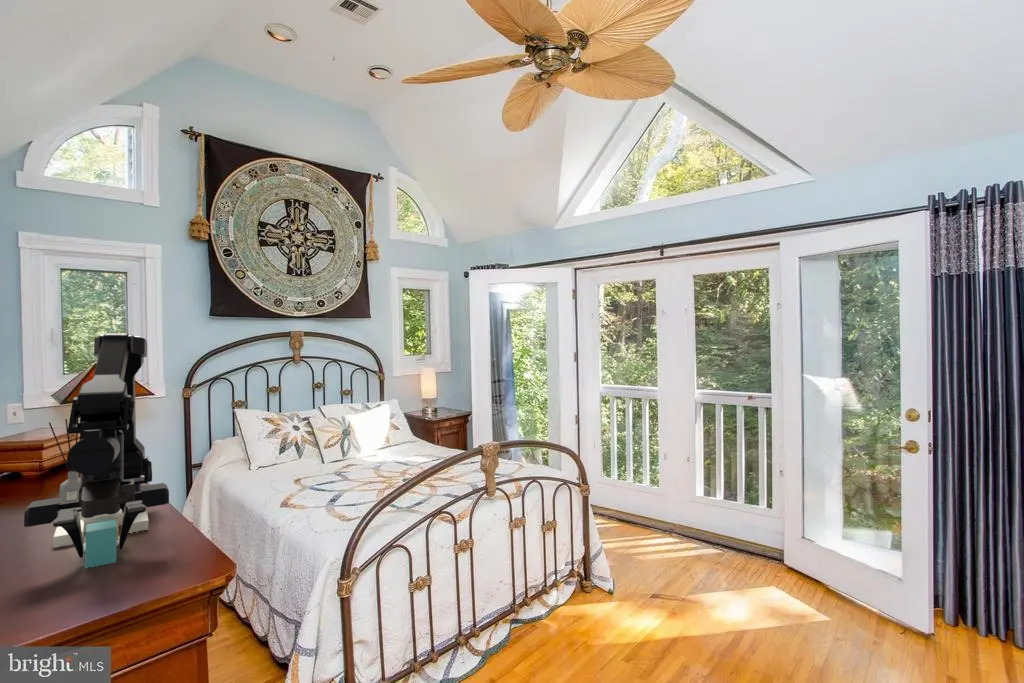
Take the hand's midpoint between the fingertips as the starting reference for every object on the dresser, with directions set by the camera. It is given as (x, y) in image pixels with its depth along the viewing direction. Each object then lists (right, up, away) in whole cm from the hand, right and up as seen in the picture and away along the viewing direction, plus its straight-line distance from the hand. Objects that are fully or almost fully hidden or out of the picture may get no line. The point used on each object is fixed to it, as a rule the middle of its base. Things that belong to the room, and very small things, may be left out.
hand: (101, 553), depth 85 cm
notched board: (-11, -2, +13) cm, 17 cm away
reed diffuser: (-34, -2, +34) cm, 48 cm away
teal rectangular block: (0, -1, 0) cm, 1 cm away
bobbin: (-5, -1, +6) cm, 8 cm away
